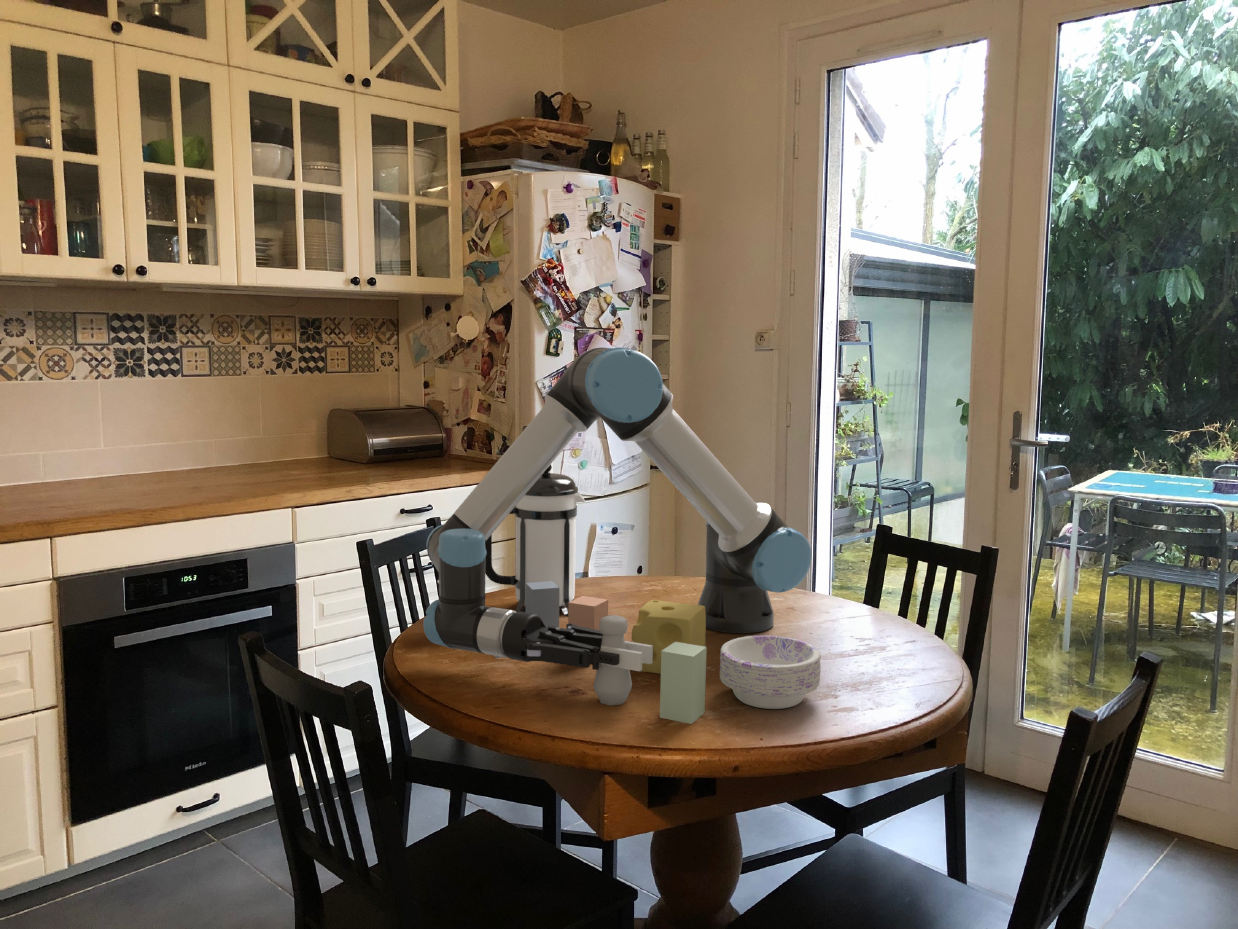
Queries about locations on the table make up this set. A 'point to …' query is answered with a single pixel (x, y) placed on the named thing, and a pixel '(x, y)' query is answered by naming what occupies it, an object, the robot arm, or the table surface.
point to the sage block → (683, 682)
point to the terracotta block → (587, 612)
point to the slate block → (543, 601)
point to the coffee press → (543, 539)
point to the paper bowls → (770, 670)
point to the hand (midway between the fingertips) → (646, 658)
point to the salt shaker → (611, 680)
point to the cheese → (668, 628)
